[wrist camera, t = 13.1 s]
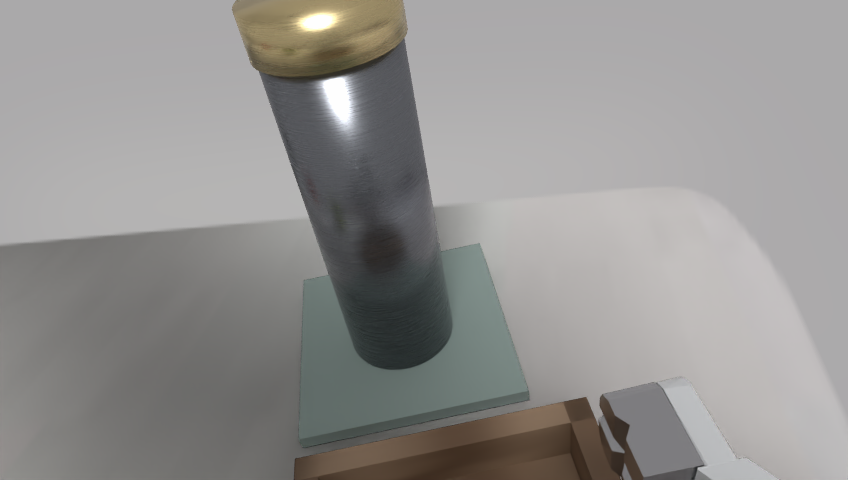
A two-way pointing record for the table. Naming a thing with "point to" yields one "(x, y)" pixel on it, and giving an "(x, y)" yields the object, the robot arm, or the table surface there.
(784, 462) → the table surface
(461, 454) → the tray
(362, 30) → the pepper mill
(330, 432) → the mat
